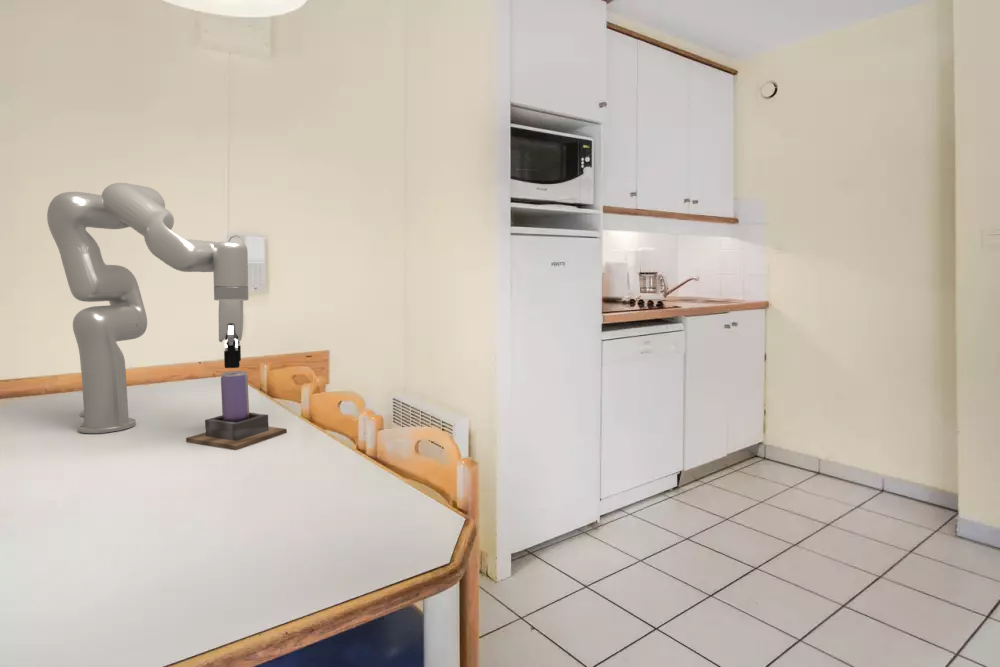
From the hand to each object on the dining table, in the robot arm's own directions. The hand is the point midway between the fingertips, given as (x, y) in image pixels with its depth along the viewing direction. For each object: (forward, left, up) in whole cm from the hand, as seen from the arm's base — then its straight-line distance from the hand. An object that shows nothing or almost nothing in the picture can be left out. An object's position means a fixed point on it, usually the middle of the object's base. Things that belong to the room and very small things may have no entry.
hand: (233, 364), depth 144 cm
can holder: (0, 0, -18) cm, 18 cm away
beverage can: (0, 0, -17) cm, 17 cm away
